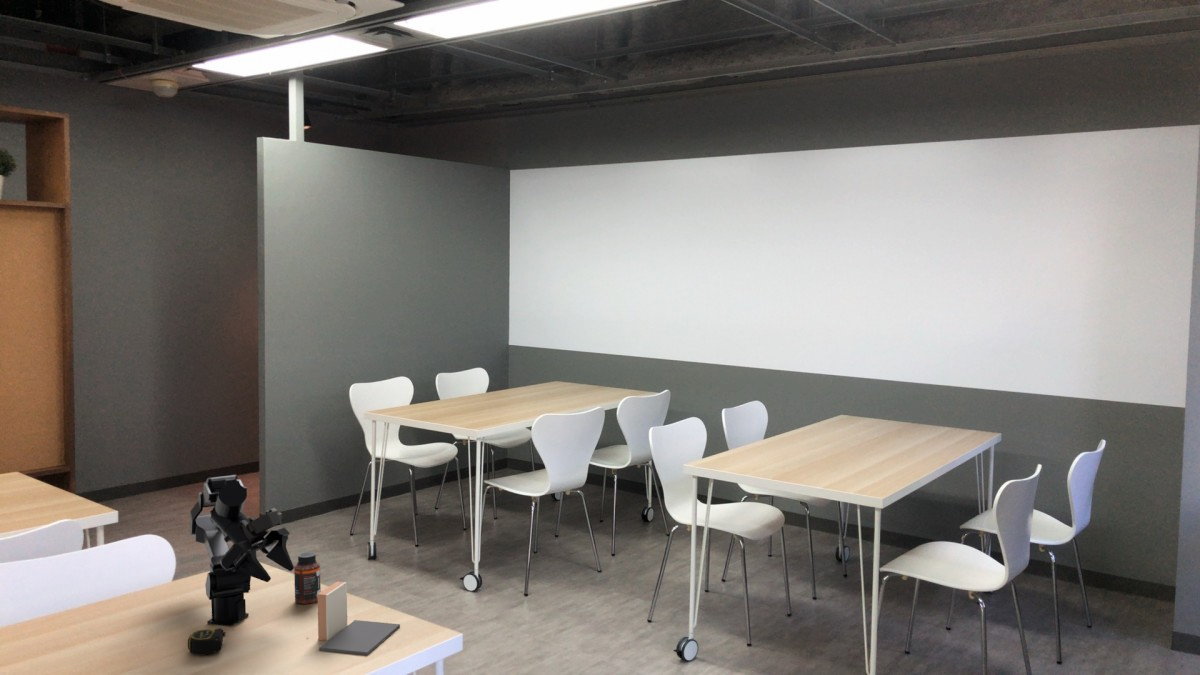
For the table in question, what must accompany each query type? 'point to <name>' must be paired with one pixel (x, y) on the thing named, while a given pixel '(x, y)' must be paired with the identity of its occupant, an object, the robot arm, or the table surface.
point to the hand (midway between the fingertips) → (281, 575)
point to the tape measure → (206, 641)
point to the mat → (360, 637)
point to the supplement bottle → (307, 578)
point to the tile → (332, 610)
